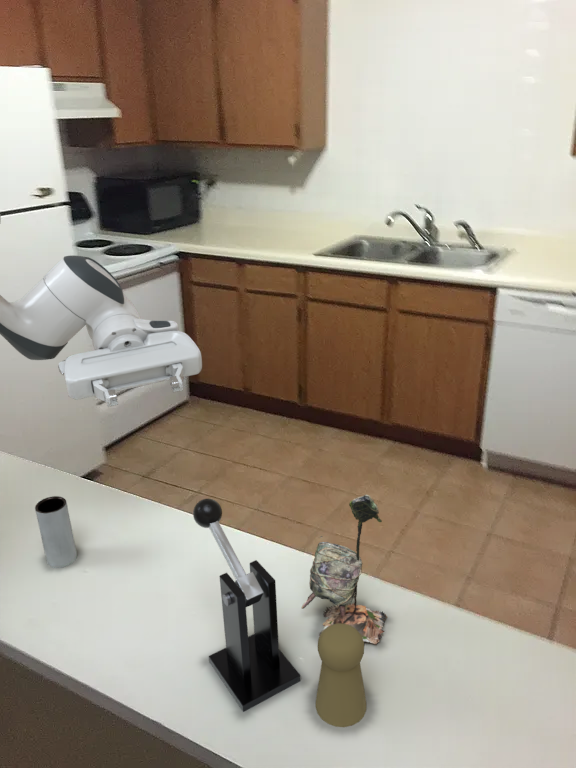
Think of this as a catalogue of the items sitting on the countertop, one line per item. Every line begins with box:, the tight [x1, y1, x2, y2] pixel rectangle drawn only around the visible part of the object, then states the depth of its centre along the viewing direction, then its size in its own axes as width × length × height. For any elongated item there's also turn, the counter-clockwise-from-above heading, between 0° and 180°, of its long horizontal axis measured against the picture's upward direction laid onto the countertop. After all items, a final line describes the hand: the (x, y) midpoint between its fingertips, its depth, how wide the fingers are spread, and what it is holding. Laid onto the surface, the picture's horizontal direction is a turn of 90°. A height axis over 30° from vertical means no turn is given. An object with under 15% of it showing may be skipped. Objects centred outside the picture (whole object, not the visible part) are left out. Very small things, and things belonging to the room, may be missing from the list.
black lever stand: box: [208, 559, 302, 713], centre depth 80 cm, size 9×8×15 cm
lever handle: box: [192, 498, 264, 608], centre depth 81 cm, size 14×4×4 cm, turn 33°
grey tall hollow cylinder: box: [34, 495, 78, 569], centre depth 102 cm, size 4×4×10 cm
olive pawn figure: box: [314, 623, 367, 728], centre depth 76 cm, size 6×6×11 cm
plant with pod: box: [301, 494, 388, 645], centre depth 86 cm, size 8×11×20 cm
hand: (145, 394), depth 95 cm, fingers open, 8 cm apart
